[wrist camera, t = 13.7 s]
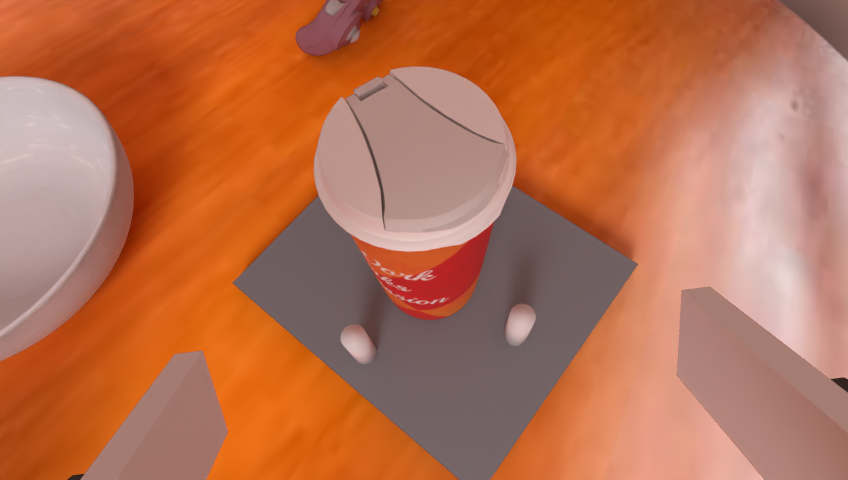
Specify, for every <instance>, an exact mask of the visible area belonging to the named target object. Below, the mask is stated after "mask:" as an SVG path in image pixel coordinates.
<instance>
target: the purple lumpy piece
mask: <svg viewBox="0 0 848 480" xmlns="http://www.w3.org/2000/svg"><path fill="white" fill-rule="evenodd" d="M381 2H382V0H327V1H326V3H325V4H324V6H323V7H322V9H321V10H320V12H319V14H318V15H317V17H316V18H315V19H314V20H313V21H312V22H311V23H309V24H308V25H306V26H304V27H302V28H300V29H299V30H298V31H297V33H296V42H297V44H298V46H299V47H300V48H301V49H302V50H303V51H304V52H306V53H308V54H310V55H315V56H322V55H326V54H328V53H330V52H332V51H334V50H336V49H337V50H338V49H340V48H341V47H342V46H343V45H345V46H347V45H348V44H349V43H350V42H351V43H354V42H356V41H357V40H358V38H359V36H360V30H359V28H360V26H361V23H360V19H361V18H363V19H364V20H365V21H366V22H367V21H369V20H370V19H371V17H372V16H377V14H378V13H379V10H380V9H379V8H378V7H379V5H380V4H381Z"/></svg>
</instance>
